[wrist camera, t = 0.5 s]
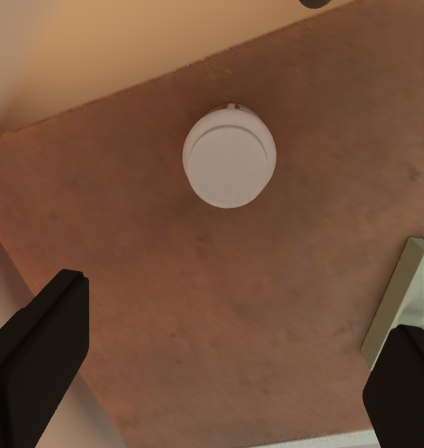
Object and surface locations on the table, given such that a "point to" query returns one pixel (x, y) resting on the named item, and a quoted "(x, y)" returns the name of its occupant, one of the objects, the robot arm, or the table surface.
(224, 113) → the pill bottle
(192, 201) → the table surface
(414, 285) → the pad
